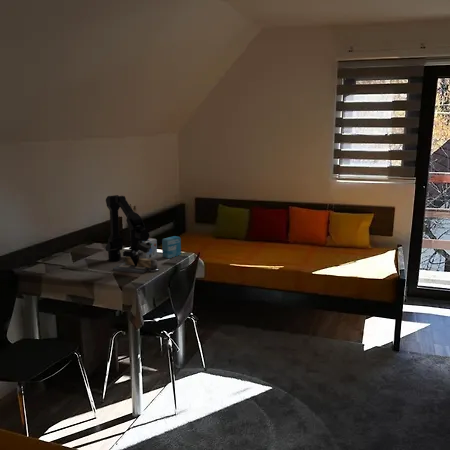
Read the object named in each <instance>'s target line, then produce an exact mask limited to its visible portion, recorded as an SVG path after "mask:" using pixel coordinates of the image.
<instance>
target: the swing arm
mask: <svg viewBox="0 0 450 450" xmlns="http://www.w3.org/2000/svg"><path fill="white" fill-rule="evenodd" d="M124 263H125V264H129V265H134V263H133V261H132V259H131V257H127V256H124ZM137 266H142V267H148V268H151V269H157V268H158V260H157V259H156V258H155V259H151V258H149V259H145V258H139V260H138V263H137Z"/></svg>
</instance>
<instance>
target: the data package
mask: <svg viewBox="0 0 450 450" xmlns="http://www.w3.org/2000/svg"><path fill="white" fill-rule="evenodd" d="M181 242H182V238H181V237H180V236H178V235H177V236H176V235H173V236H169V237H166V238H162V239H161V243H162V244H161V247H162V248H161V249H162V258H166V259H173V258H176V257H179V256H181V254H182V243H181ZM178 255H179V256H178ZM175 256H176V257H175ZM172 257H173V258H172Z"/></svg>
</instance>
